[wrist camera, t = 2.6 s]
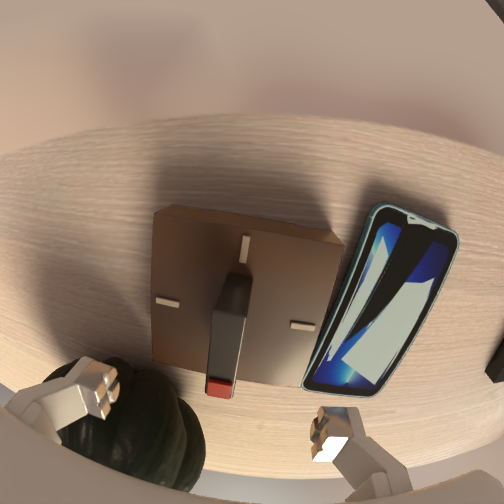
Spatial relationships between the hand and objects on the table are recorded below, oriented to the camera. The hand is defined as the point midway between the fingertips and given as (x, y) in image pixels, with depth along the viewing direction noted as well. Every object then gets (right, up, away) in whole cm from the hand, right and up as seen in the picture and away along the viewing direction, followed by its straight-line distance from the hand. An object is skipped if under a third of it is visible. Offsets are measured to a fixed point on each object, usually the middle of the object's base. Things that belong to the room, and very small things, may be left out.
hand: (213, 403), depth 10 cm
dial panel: (+1, +3, +9) cm, 9 cm away
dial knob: (0, +2, +6) cm, 6 cm away
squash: (-9, -8, +13) cm, 18 cm away
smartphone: (+10, +1, +9) cm, 14 cm away
